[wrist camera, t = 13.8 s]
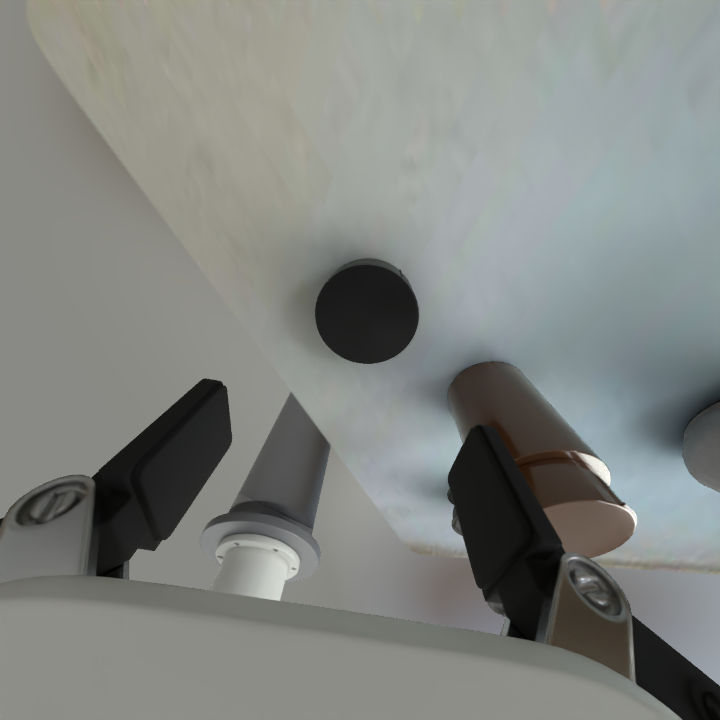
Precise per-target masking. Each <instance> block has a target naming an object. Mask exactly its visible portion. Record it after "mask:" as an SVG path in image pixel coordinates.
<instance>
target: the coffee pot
mask: <svg viewBox="0 0 720 720" xmlns="http://www.w3.org/2000/svg"><path fill="white" fill-rule="evenodd" d="M683 438H684V444H683V451H682V456H683V459H684V463H685V465H686V467H687V469H688V471H689V473H690V474H691V475H692V476H693V477H694V478H695V479H696V480H697V481H698V482H699V483H701V484H703V485H704V486H707V487H709V488H711V489H713V490H716V491H718V492H720V401H719V402H717V403H715V404H714V405H712V406H710V407H708V408H707V409H705V410H704V411H702V412H701V413H699V414H698V415H697V416H696V417H695V418H694V419H693V420H692V421H691V422H690V423H689V425H688V426H687V428H686V429H685V432H684V436H683Z"/></svg>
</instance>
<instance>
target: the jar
mask: <svg viewBox="0 0 720 720" xmlns="http://www.w3.org/2000/svg"><path fill="white" fill-rule="evenodd" d="M447 400H448V404H449V407H450V410H451V413H452V415H453V418H454V421H455V424H456V426H457V429H458V432H459V435H460V437H461V440H462V443H464V441H465V439H466V437H467V435H468V433H469V431H470V429H471V428H472V427H474V428H475V426H476V425H479V424H480V425H486V426H491V427H494V428H495V429H496V430H497V431H498V433H499V435H500V437H501V438H502V440H503V442H504V443H505V445H506V447H507V449H508V450H509V452H510V454H511V455H512V457H513V459H514V461H515V462H516V464H517V466H518V467H519V469H520V471H521V473H522V474H523V476H524V478H525V479H526V481H527V483H528V485H529V486H530V488H531V490H532V491H533V493H534V495H535V497H536V498H537V500H538V502H539V503H540V505H541V507H542V509H543V510H544V512H545V514H546V515H547V517H548V519H549V521H550V522H551V524H552V526H553V527H554V529H555V531H556V533H557V534H558V536H559V538H560V539H561V541H562V543H563V544H562V547H563V549H564V550H565V552H566V553H568V552H572V553H578V554H581V555H583V556H586V557H587V558H593V557H596V556H599V555H602V554H605V553H607V552H610V551H612V550H614V549H616V548H617V547H619V546H621V545H622V544H624V543H625V542H626V541H627V540H628V539H629V538H630V537H631V536H632V535H633V533H634V531H635V529H636V524H637V521H638V520H637V517H636V515H635V512H634V511H633V509H631V508H630V507H629V506H628V505H627V504H626V503H624V502H622V501H621V500H620V498H619V497H618V496H617V495H616V494H615V493H614V491H613V490H612V489H611V488H610V487H609V486H610V482H611V475H610V472H609V469H608V467H607V465H606V464H605V463H604V462H603V461H602V460H601V459H600V458H599V457H598V456H597V454H596V453H595V452H594V451H593V450H592V449H591V448H590V447H589V446H588V445H587V443H586V442H585V441H584V440H583V439H582V438H581V437H580V436H579V435H578V434H577V433H576V431H575V430H574V429H573V428H572V427H571V426H570V425H569V424H568V423H567V422H566V420H565V419H564V418H563V417H562V416H561V415H560V414H559V413H558V412H557V411H556V410H555V408H554V407H553V406H552V405H551V404H550V403H549V402H548V401H547V400H546V399H545V397H544V396H543V395H542V394H541V393H540V392H539V391H538V390H537V389H536V388H535V387H534V385H533V384H532V383H531V382H530V381H529V380H528V379H527V378H526V377H525V376H524V374H523V373H522V372H521V371H520V370H519V369H517V368H516V367H514V366H513V365H510V364H508V363H504V362H497V361H491V362H484V363H479V364H476V365H474V366H471V367H469V368H467V369H466V370H464V371H463V372H461V373H460V374H459V375H458V376H457V377H456V378H455V379H454V380H453V382H452V383H451V385H450V387H449V390H448V395H447Z"/></svg>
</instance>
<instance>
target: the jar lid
mask: <svg viewBox="0 0 720 720" xmlns="http://www.w3.org/2000/svg"><path fill="white" fill-rule="evenodd" d="M315 318H316V324H317V328H318V331H319V333H320V335H321V337H322V339H323V341H324V342H325V343H326V345H327V346H328V347H329V348H330V349H331V350H332V351H333V352H335V353H336V354H337V355H339V356H341V357H342V358H344V359H346V360H349V361H352V362H356V363H363V364H373V363H379V362H383V361H386V360H389V359H391V358H393V357H395V356H396V355H398V354H399V353H400V352H401V351H403V350H404V349H405V348H406V347H407V346H408V344H409V343H410V342H411V340H412V338H413V336H414V335H415V332H416V329H417V326H418V320H419V308H418V304H417V300H416V297H415V295H414V292H413V290H412V288H411V286H410V284H409V282H408V280H407V279H406V277H405V276H404V275H403V274H402V272H401V270H398V269H397V268H396V267H394V266H393V265H391V264H389V263H387V262H385V261H382V260H378V259H359V260H355V261H352V262H350V263H348V264H345V265H344V266H342V267H341V268H340V269H338V270H337V271H336V272H335V273H334V274H333V276H332V277H331V278H330V279H329V280H328V282H327V283H326V284H325V285H324V287H323V288H322V290H321V292H320V294H319V296H318V299H317V302H316V308H315Z"/></svg>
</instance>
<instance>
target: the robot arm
mask: <svg viewBox="0 0 720 720" xmlns="http://www.w3.org/2000/svg"><path fill="white" fill-rule="evenodd" d="M231 442H232V432H231V424H230V413H229V404H228V395H227V387H226V386H223V383H222V382H221V381H217V380H211V379H202V380H201V381H200V382H199V383H198V384H196V385H195V386H194V387H193V388H192V389H191V390H190V391H188V392H187V393H186V394H185V395H184V396H183V397H182V398H180V399H179V400H178V401H177V402H176V403H175V404H174V405H172V406H171V407H170V408H169V409H168V410H167V411H166V412H165V413H163V414H162V415H161V416H160V417H159V418H158V419H156V420H155V421H154V422H153V423H152V424H151V425H150V426H148V428H146V429H145V430H144V431H143V432H142V433H141V434H139V435H138V436H137V437H136V438H135V439H134V440H133V441H131V442H130V443H129V444H128V445H127V446H126V447H125V448H124V449H122V450H121V451H120V452H119V453H118V454H117V455H115V456H114V457H113V458H112V459H111V460H110V461H109V462H108V463H106V465H104V466H103V467H102V468H101V469H100V470H99V472H97V473H96V474H95V475H94V476H93V477H92V478H90V477H89V476H85V475H69V476H65V477H60V478H57V479H54V480H52V481H49V482H46V483H44V484H42V485H40V486H38V487H36V488H35V489H33V490H31V491H30V492H28V493H27V494H25V495H24V496H22V497H21V498H20V499H18V501H16V502H15V503H14V504H13V505H12V506H11V507H10V509H9V510H8V512H7V513H6V515H5V517H4V518H2V519H0V720H720V686H719V685H718V684H716V683H715V682H714V681H713V680H712V679H710V678H709V677H708V676H707V675H705V674H704V673H703V672H702V671H701V670H699V669H698V668H697V667H695V666H694V665H693V664H692V663H691V662H689V661H688V660H687V659H686V658H685V657H683V656H682V655H681V654H680V653H678V652H677V651H676V650H675V649H673V648H672V647H671V646H670V645H668V644H667V643H666V642H665V641H663V640H662V639H661V638H660V637H659V636H657V635H656V634H655V633H654V632H652V631H651V630H650V629H649V628H647V627H646V626H645V625H644V624H642V623H641V622H640V621H639V620H638V619H636V618H635V617H634V616H633V615H632V613H631V608H630V604H629V602H628V600H627V598H626V596H625V594H624V592H623V591H622V589H621V588H620V587H619V585H618V584H617V583H616V581H615V580H614V579H613V578H612V577H611V576H610V575H609V574H608V573H607V572H606V571H605V570H604V569H603V568H602V567H601V566H599V565H598V564H597V563H596V562H594V561H592V560H591V559H589V558H587V557H586V556H583V555H581V554H578V553H572V552H568V553H566V552H565V550H564V549H563V547H562V544H563V543H562V541H561V539H560V538H559V536H558V534H557V533H556V531H555V529H554V527H553V526H552V524H551V522H550V521H549V519H548V517H547V515H546V514H545V512H544V510H543V509H542V507H541V505H540V503H539V502H538V500H537V498H536V497H535V495H534V493H533V491H532V490H531V488H530V486H529V485H528V483H527V481H526V479H525V478H524V476H523V474H522V473H521V471H520V469H519V467H518V466H517V464H516V462H515V461H514V459H513V457H512V455H511V454H510V452H509V450H508V449H507V447H506V445H505V443H504V442H503V440H502V438H501V437H500V435H499V433H498V431H497V430H496V429H495V428H494V427H491V426H486V425H480V424H479V425H476V426H475V428H474V427H472V428H471V429H470V431H469V433H468V435H467V437H466V439H465V441H464V443H463V445H462V447H461V449H460V451H459V453H458V455H457V457H456V460H455V462H454V464H453V466H452V468H451V470H450V472H449V474H448V484H449V487H450V491H451V495H452V498H453V502H454V505H455V509H456V513H457V516H458V520H459V524H460V527H461V531H462V535H463V538H464V542H465V545H466V549H467V553H468V556H469V560H470V564H471V567H472V571H473V574H474V578H475V581H476V584H477V586H478V587H479V588H480V589H482V591H483V595H484V598H485V601H486V602H493V603H499V604H502V605H503V608H504V611H505V614H506V618H505V622H504V624H503V628H502V631H501V634H500V635H496V634H491V633H485V632H480V631H474V630H467V629H461V628H455V627H448V626H442V625H436V624H429V623H422V622H415V621H410V620H403V619H397V618H390V617H384V616H378V615H371V614H364V613H358V612H351V611H344V610H337V609H331V608H324V607H318V606H311V605H304V604H297V603H291V602H284V601H280V598H281V593H282V590H283V586H284V583H285V580H288V579H290V578H292V577H293V576H295V575H296V574H297V572H298V569H299V565H300V559H299V556H298V555H297V553H296V552H295V551H294V550H293V549H292V548H291V547H290V546H288V545H287V544H285V543H283V542H281V541H279V540H277V539H274V538H271V537H268V536H264V535H259V534H250V533H241V534H234V535H230V536H228V537H225V538H224V539H222V540H221V542H220V543H219V545H218V547H217V549H216V553H215V555H216V558H217V560H218V561H219V563H220V564H221V566H220V568H219V570H218V572H217V574H216V577H215V579H214V581H213V583H212V585H211V587H210V590H202V589H194V588H187V587H181V586H174V585H166V584H158V583H150V582H142V581H134V580H129V560H130V558H131V557H132V556H133V554H134V553H135V552H136V550H137V549H145V550H152V551H155V550H156V548H157V547H158V545H159V544H160V542H161V541H162V540H166V539H167V538H168V537H169V536H170V535H171V534H172V532H173V531H174V529H175V528H176V526H177V525H178V523H179V522H180V520H181V519H182V517H183V516H184V514H185V513H186V511H187V510H188V508H189V507H190V506H191V504H192V502H193V501H194V500H195V498H196V496H197V495H198V494H199V492H200V491H201V489H202V488H203V486H204V485H205V483H206V482H207V480H208V478H209V477H210V476H211V474H212V473H213V471H214V470H215V468H216V467H217V465H218V463H219V462H220V461H221V459H222V458H223V456H224V455H225V453H226V452H227V450H228V449H229V447H230V445H231Z"/></svg>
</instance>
